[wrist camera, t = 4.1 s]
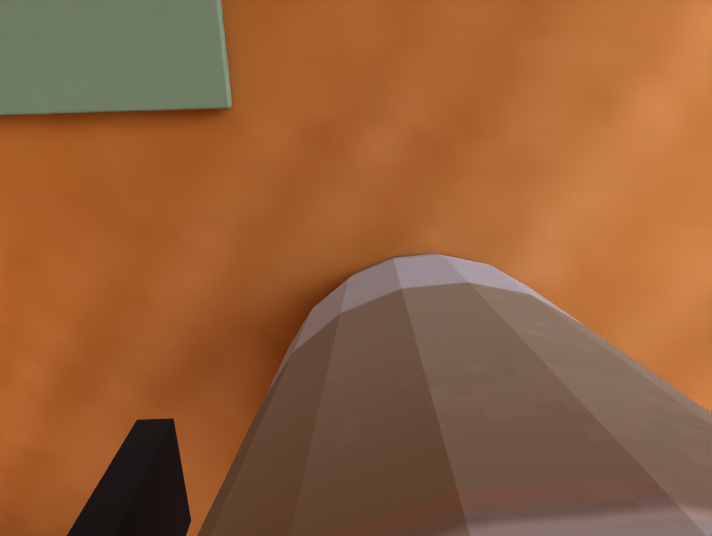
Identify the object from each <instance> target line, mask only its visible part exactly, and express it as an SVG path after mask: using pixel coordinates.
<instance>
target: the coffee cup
mask: <svg viewBox="0 0 712 536" xmlns="http://www.w3.org/2000/svg"><path fill="white" fill-rule="evenodd" d="M197 536H712V413H711V412H709V411H708V410H706V409H705V408H703V407H702V406H700V405H699V404H698V403H696V402H695V401H693V400H692V399H690V398H689V397H687V396H686V395H684V394H683V393H682V392H680V391H679V390H677V389H676V388H674V387H673V386H671V385H670V384H668V383H667V382H666V381H664V380H663V379H661V378H660V377H658V376H657V375H655V374H654V373H653V372H651V371H650V370H648V369H647V368H645V367H644V366H642V365H641V364H639V363H638V362H637V361H635V360H634V359H632V358H631V357H629V356H628V355H626V354H625V353H623V352H622V351H621V350H619V349H618V348H616V347H615V346H613V345H612V344H610V343H609V342H608V341H606V340H605V339H603V338H602V337H600V336H599V335H597V334H596V333H594V332H593V331H592V330H590V329H589V328H587V327H586V326H584V325H583V324H581V323H580V322H578V321H577V320H576V319H574V318H573V317H571V316H570V315H568V314H567V313H565V312H564V311H563V310H561V309H560V308H558V307H557V306H555V305H554V304H552V303H551V302H549V301H548V300H547V299H545V298H544V297H542V296H541V295H539V294H538V293H536V292H535V291H533V290H532V289H531V288H529V287H527V286H526V285H524V284H522V283H521V282H519V281H517V280H515V279H514V278H512V277H510V276H509V275H507V274H505V273H503V272H502V271H500V270H498V269H496V268H495V267H493V266H491V265H489V264H484V263H480V262H475V261H470V260H465V259H460V258H456V257H451V256H446V255H439V254H426V255H416V256H406V257H396V258H391V259H389V260H386V261H384V262H381V263H379V264H377V265H374V266H372V267H369V268H367V269H364V270H362V271H360V272H357V273H355V274H353V275H352V276H351V277H350V278H348V279H347V280H346V281H345V282H343V283H342V284H341V285H340V286H339V287H337V288H336V289H335V290H334V291H333V292H331V293H330V294H329V295H328V296H327V297H325V298H324V299H323V300H322V301H321V302H319V303H318V304H317V305H316V306H315V307H313V308H312V310H311V312H310V313H309V315H308V317H307V318H306V320H305V321H304V323H303V325H302V326H301V328H300V330H299V331H298V333H297V335H296V336H295V338H294V339H293V341H292V343H291V344H290V346H289V348H288V350H287V352H286V354H285V356H284V359H283V361H282V363H281V365H280V367H279V369H278V371H277V373H276V375H275V377H274V379H273V381H272V383H271V385H270V387H269V389H268V391H267V394H266V396H265V398H264V400H263V402H262V404H261V406H260V408H259V410H258V412H257V414H256V416H255V418H254V420H253V422H252V424H251V426H250V428H249V431H248V433H247V435H246V437H245V439H244V441H243V443H242V445H241V447H240V449H239V451H238V453H237V455H236V457H235V459H234V461H233V463H232V466H231V468H230V470H229V472H228V474H227V476H226V478H225V480H224V482H223V484H222V486H221V488H220V490H219V492H218V494H217V496H216V498H215V501H214V503H213V505H212V507H211V509H210V511H209V513H208V515H207V517H206V519H205V521H204V523H203V525H202V527H201V529H200V531H199V533H198V535H197Z"/></svg>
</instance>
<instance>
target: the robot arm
mask: <svg viewBox="0 0 712 536" xmlns="http://www.w3.org/2000/svg"><path fill="white" fill-rule="evenodd" d="M190 523H191V517H190V511H189V505H188V500H187V494H186V488H185V482H184V476H183V470H182V465H181V459H180V453H179V447H178V441H177V436H176V430H175V424H174V419H147V420H137V421H136V422H135V424H134V426H133V427H132V429H131V431H130V432H129V434H128V436H127V437H126V439H125V441H124V442H123V444H122V445H121V447H120V449H119V450H118V452H117V454H116V455H115V457H114V459H113V460H112V462H111V464H110V465H109V467H108V469H107V470H106V472H105V474H104V475H103V477H102V479H101V480H100V482H99V483H98V485H97V487H96V488H95V490H94V492H93V493H92V495H91V497H90V498H89V500H88V502H87V503H86V505H85V507H84V508H83V510H82V512H81V513H80V515H79V516H78V518H77V520H76V521H75V523H74V525H73V526H72V528H71V530H70V531H69V533H68V535H67V536H186V534H187V531H188V528H189V525H190Z"/></svg>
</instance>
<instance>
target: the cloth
mask: <svg viewBox="0 0 712 536" xmlns="http://www.w3.org/2000/svg"><path fill="white" fill-rule="evenodd" d="M231 107H232V99H231V90H230V80H229V70H228V61H227V51H226V41H225V32H224V22H223V12H222V3H221V0H0V115H32V114H64V113H96V112H128V111H160V110H193V109H225V108H231Z"/></svg>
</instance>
